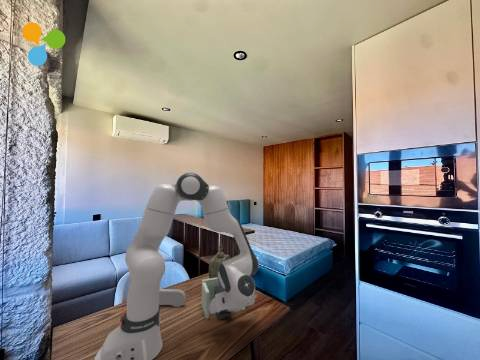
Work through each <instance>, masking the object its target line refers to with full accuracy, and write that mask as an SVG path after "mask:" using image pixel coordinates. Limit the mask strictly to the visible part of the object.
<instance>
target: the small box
mask: <svg viewBox="0 0 480 360" xmlns="http://www.w3.org/2000/svg"><path fill="white" fill-rule="evenodd" d="M221 292H224V290H223V289H222V287H221V286H216V287H214V298H215V295H216V294H218V293H221ZM215 314H216V316H217V319H218V320H223V319H228V318H231V317H232V311H224V312H218V313H215Z"/></svg>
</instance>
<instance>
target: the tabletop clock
mask: <svg viewBox="0 0 480 360" xmlns="http://www.w3.org/2000/svg"><path fill="white" fill-rule="evenodd" d="M220 247H221V248H220ZM223 247H224V246H223V244H222V243H221V244H219V246H218V248H217V250H218V251H217V253H216V254H215V255H214V256H213V257H211V258H210V260H209V262H208V264H209V265H208V279H210V278H217V270H218V266H219V264H220V263H222V262H224V261H226V260H228V259H231V255H230V254H225V253H224V251H223V249H224V248H223Z"/></svg>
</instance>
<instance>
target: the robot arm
mask: <svg viewBox="0 0 480 360" xmlns="http://www.w3.org/2000/svg"><path fill="white" fill-rule="evenodd" d="M182 201H187V202H189V201H190V202H191V201H197V202H198V204H199V205H200V208H201V210H202V215H203V219H204V222H205V224H206V226H207V228H208V229H210V230H211V231H213V232H217V233H227V234H228V233H229V234H231V235H232V236H233V237H234V239H235V242H236V244H237V246H238V249H239V251H240V252H239V254H238V255H235V256H232V257H230V259H228V260H226V261H224V262H222V263H220V264H219V266H218V270H217V278H218V281H219V284H220V286H221V287H222V289H223V290H224V292H221V293H218V294H216V295H215V298H214V299H213V300H212V301H211V302H210V304H209V315H213V314H214V315H215V314H216V313H218V312H224V311H231V312H240V311H243V310H242V309H243V307H245V308H246V307H249V306H252V305H254V304H255V301H256V298H257V297H258V295H257V294H255V291H256V284H255V280H254V279H253V278H252V276H254V275H256V274H257V272H258V270H259V266H260V265H259V259H258V258H257V256H256V254H255V253H254V251H253V249H252V246H251V244H250V242H249V239H248V237H247V235H246V232H245V230H244V228H243V226H242V224H241V222H240V221H239V220H238V218H237V217H234V216H233V215H232V213H231V212H230V209H229V204H228V202H227V199H226V196H225V194H224V192H223V190H222V188H221V187H220V186H218V185H209V184H208V183H207V182H206V181H205V180H204V179H203V178H202V177H201V176H200V175H199V174H197V173H194V172H186V173H183V174H182V175H180V176H179V177H178V178H177V180H176V183H174V184H169V183H161V184H160V183H159V184H158V185H156V186H155V188H154V190H153V191H152V192H151V195H150V197H149V199H148V201H147V204H146V207H145V209H144V212H143V216H142V218H141V221H140V223H139V226H138V229H137V230H136V233H135V235H134V236H133V238H132V241H131V242H130V244H129V246H128V248H127V249H126V252H125V256H124V262H125V264H126V266H127V269H128V273H129V285H128V292H127V293H126V309H124V310H122V311H121V312H120V319H119V325H118V326H117V327H116V328H115V329H113V330H112V331H111V332H109V333H108V335H107V336H106V338H105V340H104V342H103V344H102V346H101V348H99V350H98V351H97V353H96V355H95V357H94V360H154V359H155V358H156V357H157V356H158V355H159V353H160V352H161V350H162V349H163V338H162V336H161V330H160V322H161V309H160V305H159V289H161V288H160V287H161V281H162V278H163V276H164V274H165V272H166V263H165V260H164V257H163V255H162V254H161V253H160V252H159V250H160V249H159V248H160V247H161V244H162V242H163V241H164V239H165V238H166V237H167V236H168V234H169V232H170V230H171V227H172V224H173V220H174V217H175V214H176V210H177V208H178V205H179V203H180V202H182Z"/></svg>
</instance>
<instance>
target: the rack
mask: <svg viewBox="0 0 480 360" xmlns="http://www.w3.org/2000/svg"><path fill="white" fill-rule="evenodd" d="M216 286H220V284H219V281H218V278H210V279H209V278H205V279H201V308H202V311H203V313H204V318H205V319H209V318H210V309H209V304H210V302H211V301H212V300H213V299H214V287H216ZM245 310H246V307H243V309H242V310H241V311H245Z"/></svg>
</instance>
